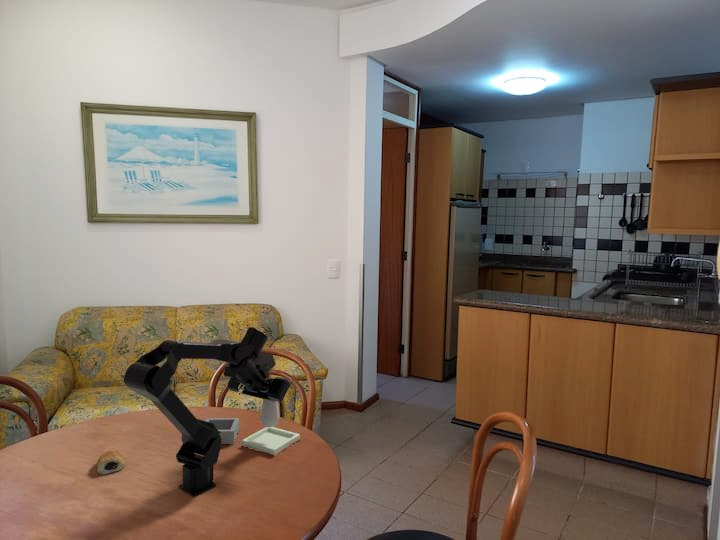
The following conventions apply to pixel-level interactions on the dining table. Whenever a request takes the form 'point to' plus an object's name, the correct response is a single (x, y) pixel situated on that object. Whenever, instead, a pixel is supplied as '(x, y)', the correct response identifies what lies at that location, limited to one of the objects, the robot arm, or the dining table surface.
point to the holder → (226, 428)
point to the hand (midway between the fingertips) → (271, 399)
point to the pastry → (110, 462)
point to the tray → (270, 440)
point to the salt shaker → (269, 413)
